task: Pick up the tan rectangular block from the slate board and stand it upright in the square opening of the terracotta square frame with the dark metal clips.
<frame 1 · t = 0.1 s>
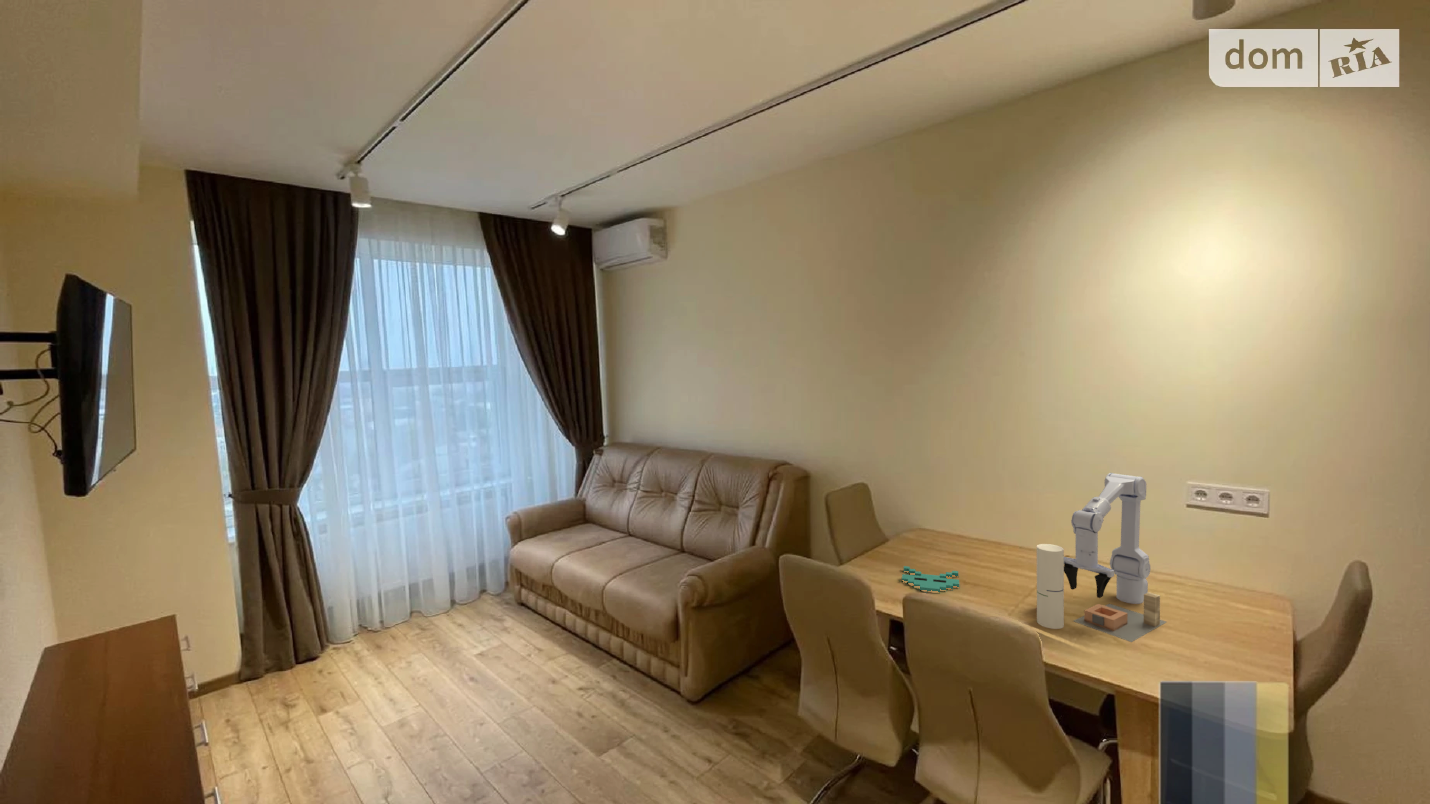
hand: (1086, 592, 173), 10 cm above the table, tool pointing down, fingers open, 7 cm apart
slate board: (1119, 624, 172), on the table
terracotta square frame: (1105, 622, 172), resting on slate board
cylindrical container: (1050, 627, 173), on the table
tan rectangular block: (1151, 623, 170), point 1 cm above the table, touching slate board
alien figure: (930, 584, 211), on the table
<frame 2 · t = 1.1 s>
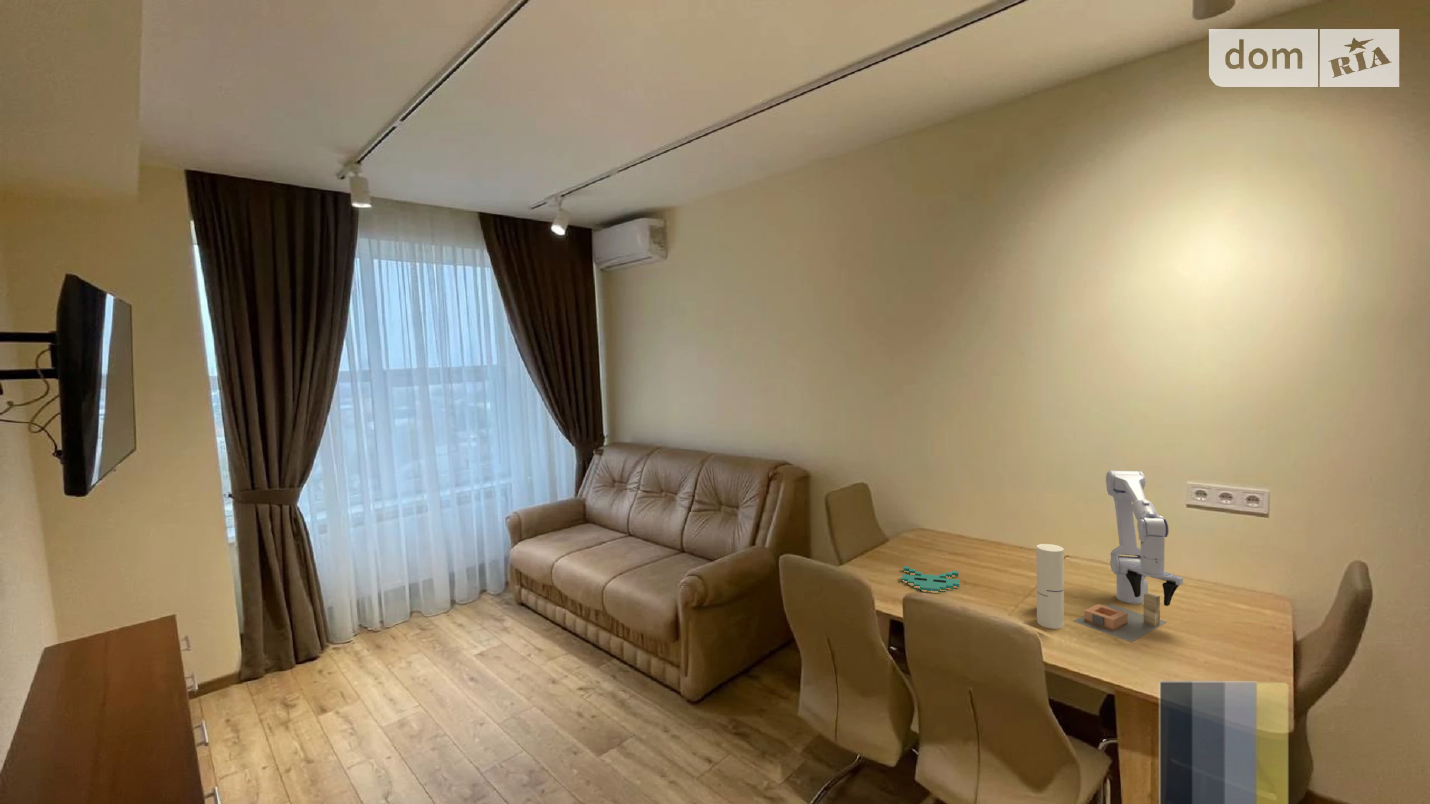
hand: (1151, 600, 170), 8 cm above the table, tool pointing down, fingers open, 7 cm apart
nothing on the table moved.
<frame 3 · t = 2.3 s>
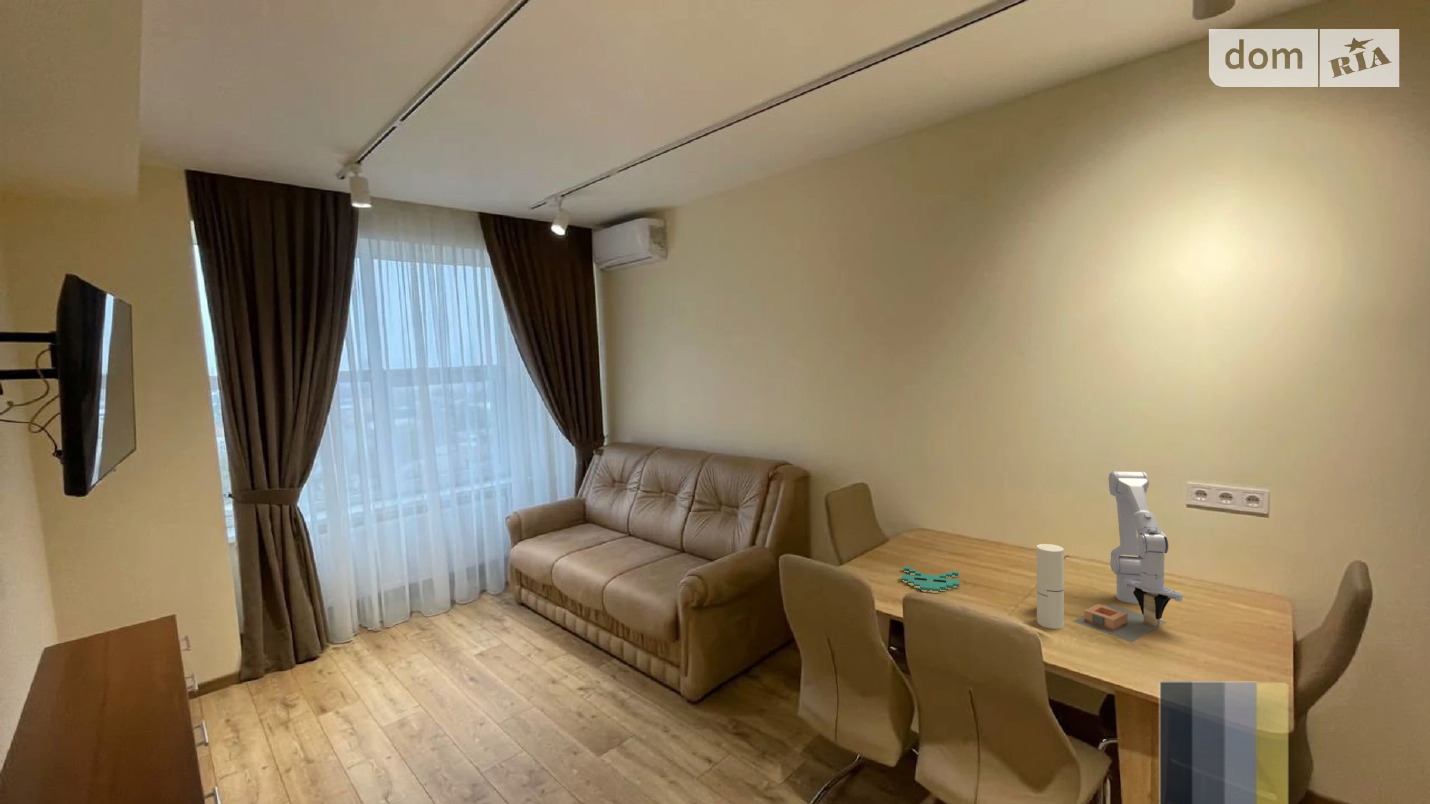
hand: (1151, 616, 170), 3 cm above the table, tool pointing down, fingers closed on tan rectangular block, 3 cm apart
tan rectangular block: (1151, 623, 170), point 1 cm above the table, touching gripper, slate board
everything else where it was.
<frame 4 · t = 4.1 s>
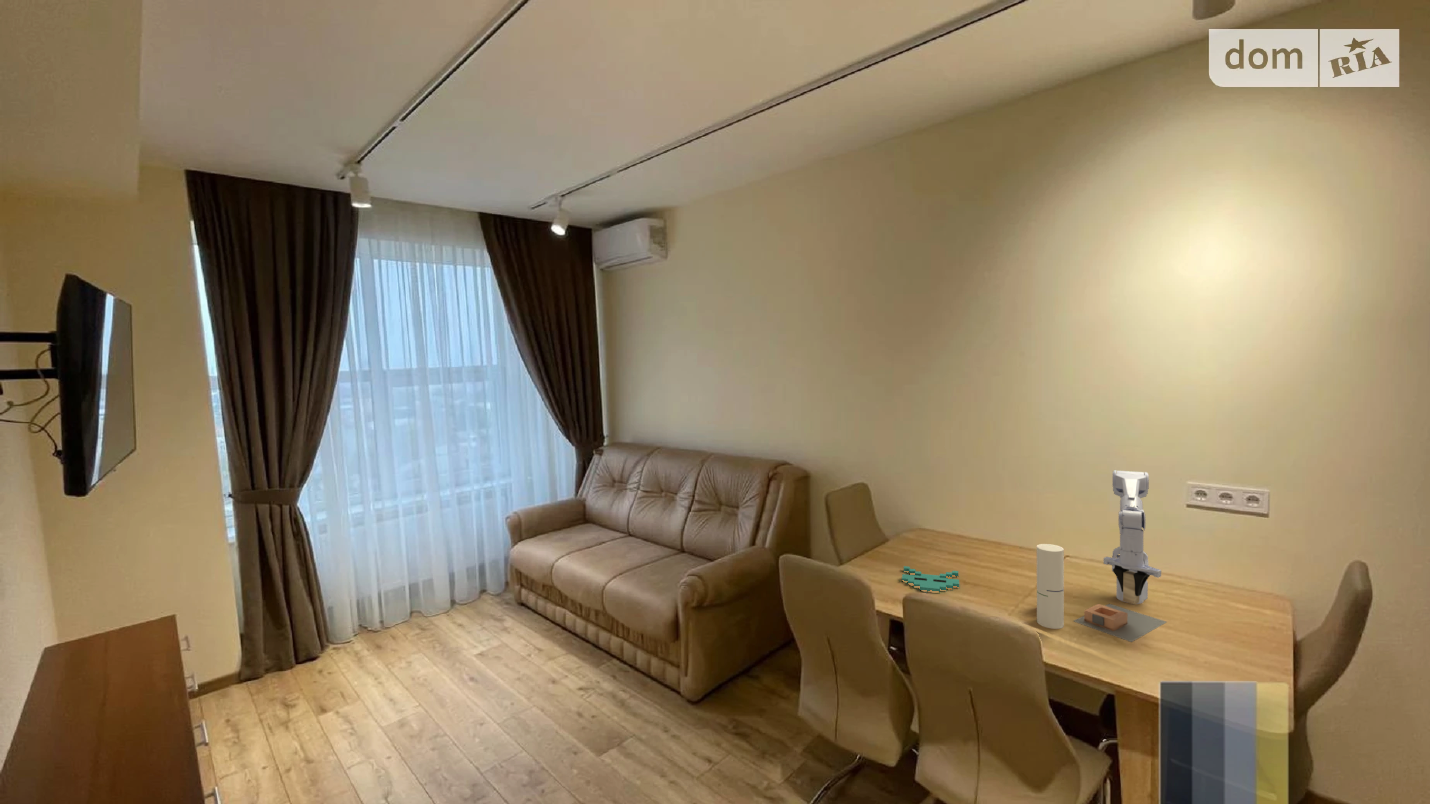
hand: (1131, 593, 170), 10 cm above the table, tool pointing down, fingers closed on tan rectangular block, 3 cm apart
tan rectangular block: (1131, 601, 170), point 8 cm above the table, touching gripper
everything else where it was.
when the fingers open (5 cm above the table, at t = 6.1 s): tan rectangular block stays where it is, resting on terracotta square frame.
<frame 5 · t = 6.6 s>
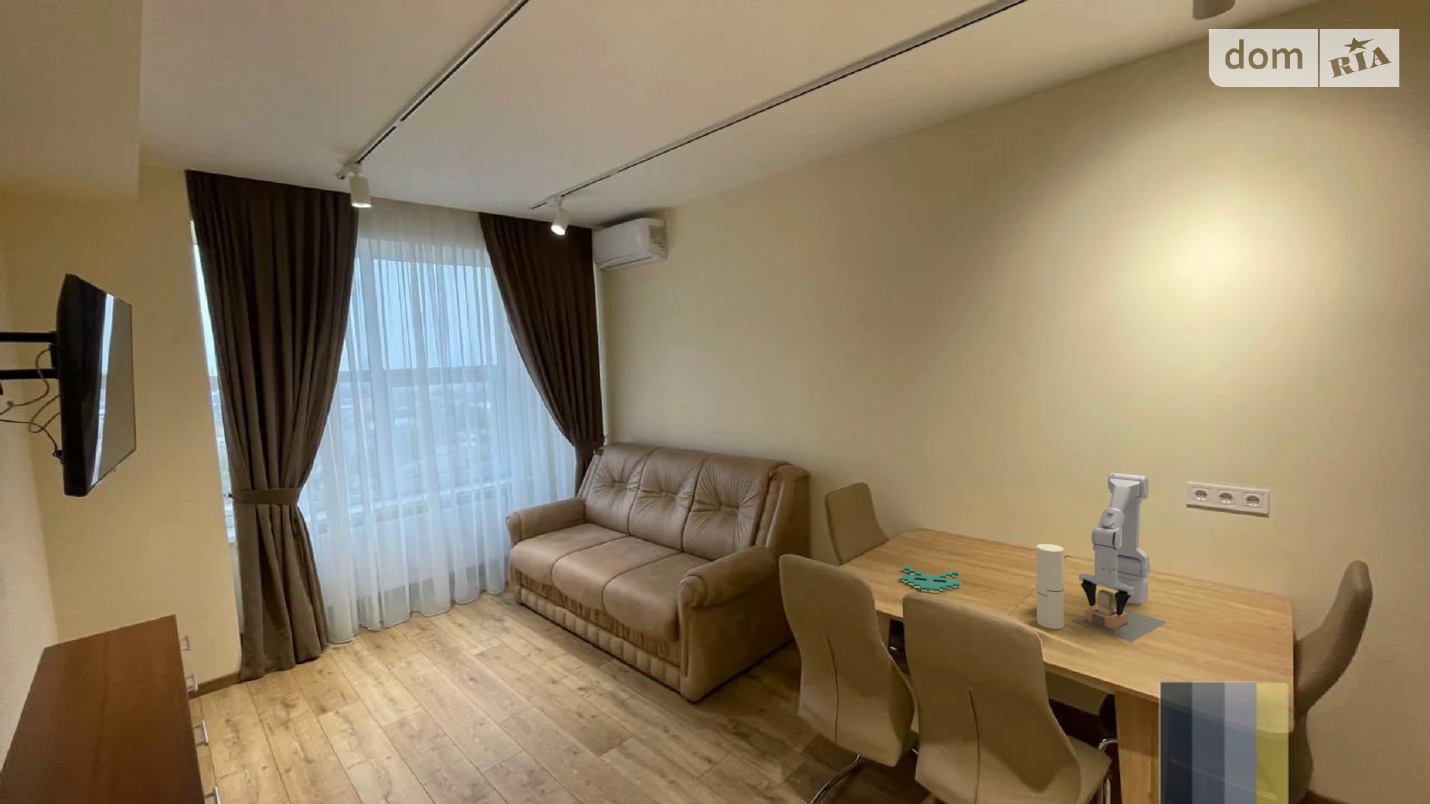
hand: (1105, 609, 172), 5 cm above the table, tool pointing down, fingers open, 7 cm apart
tan rectangular block: (1105, 620, 172), point 2 cm above the table, touching terracotta square frame
everything else where it was.
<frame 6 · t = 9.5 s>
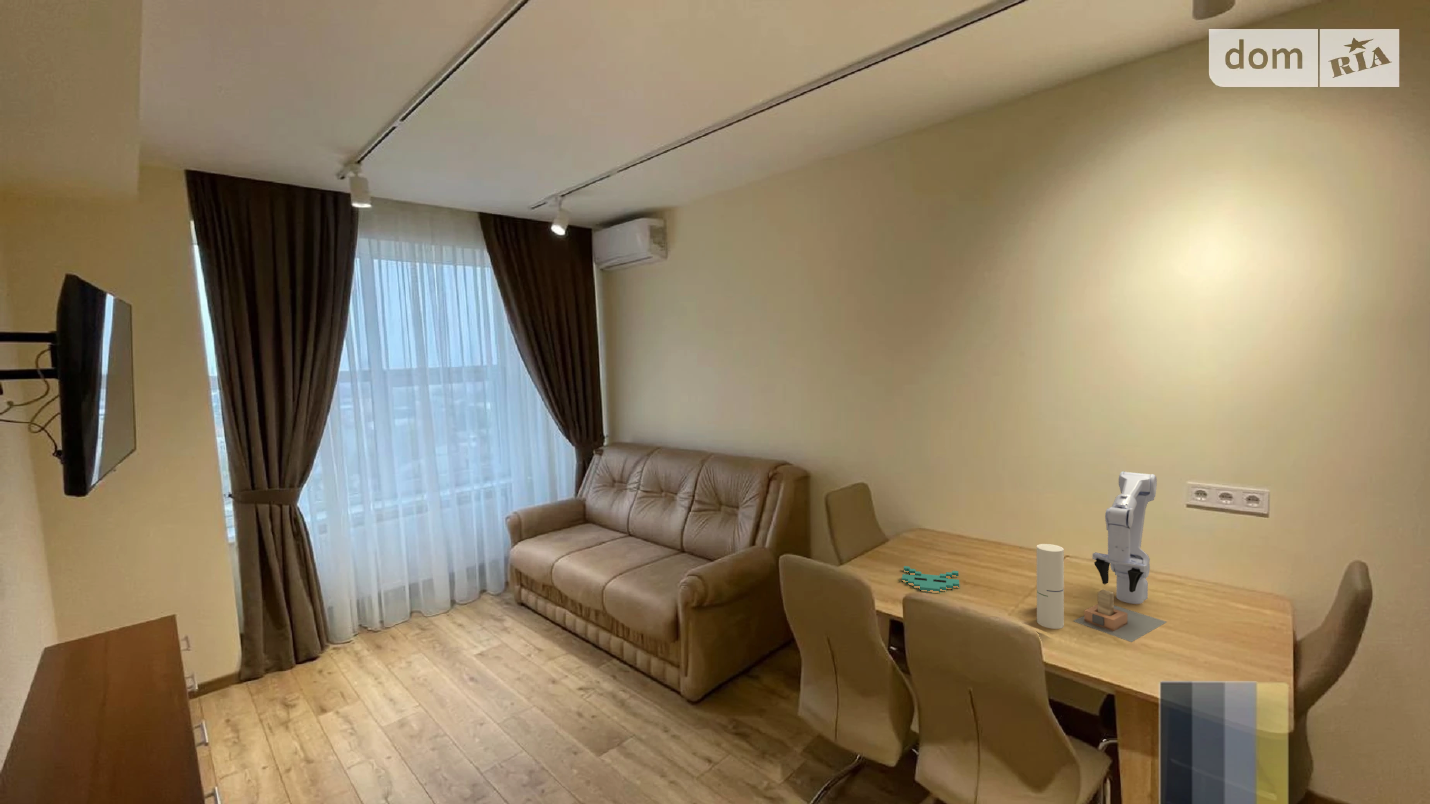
hand: (1118, 587, 177), 9 cm above the table, tool pointing down, fingers open, 7 cm apart
nothing on the table moved.
at the end: tan rectangular block 0.0 cm off-centre on the terracotta square frame, point 0.6 cm above the terracotta square frame's base; tan rectangular block tilted 0°; the gripper is holding nothing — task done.
